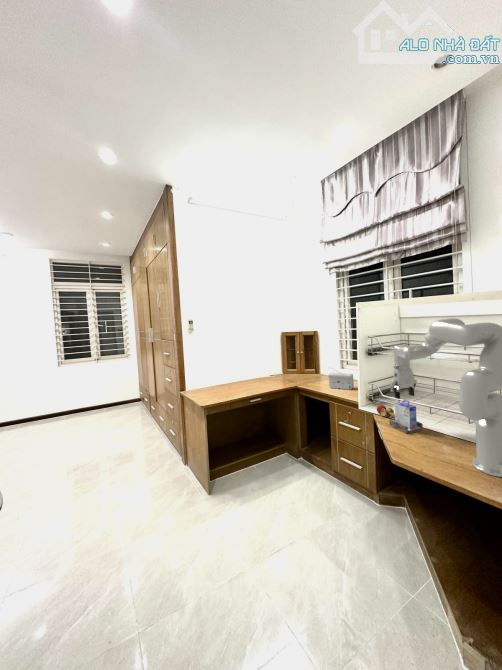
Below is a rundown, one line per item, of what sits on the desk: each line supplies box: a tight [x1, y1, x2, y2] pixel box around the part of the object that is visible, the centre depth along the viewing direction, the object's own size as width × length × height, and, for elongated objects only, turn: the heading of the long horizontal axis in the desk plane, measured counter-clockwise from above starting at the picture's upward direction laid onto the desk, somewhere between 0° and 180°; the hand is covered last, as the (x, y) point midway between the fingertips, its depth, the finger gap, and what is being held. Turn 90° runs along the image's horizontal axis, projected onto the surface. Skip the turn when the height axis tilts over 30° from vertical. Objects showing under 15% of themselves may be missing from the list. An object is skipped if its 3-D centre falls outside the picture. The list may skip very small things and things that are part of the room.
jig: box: [388, 419, 424, 435], centre depth 147 cm, size 12×11×4 cm
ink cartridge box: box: [394, 399, 418, 429], centre depth 146 cm, size 10×6×14 cm, turn 19°
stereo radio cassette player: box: [327, 366, 355, 390], centre depth 233 cm, size 21×8×20 cm, turn 53°
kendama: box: [376, 404, 395, 419], centre depth 164 cm, size 8×6×18 cm
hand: (404, 396), depth 145 cm, fingers open, 9 cm apart
